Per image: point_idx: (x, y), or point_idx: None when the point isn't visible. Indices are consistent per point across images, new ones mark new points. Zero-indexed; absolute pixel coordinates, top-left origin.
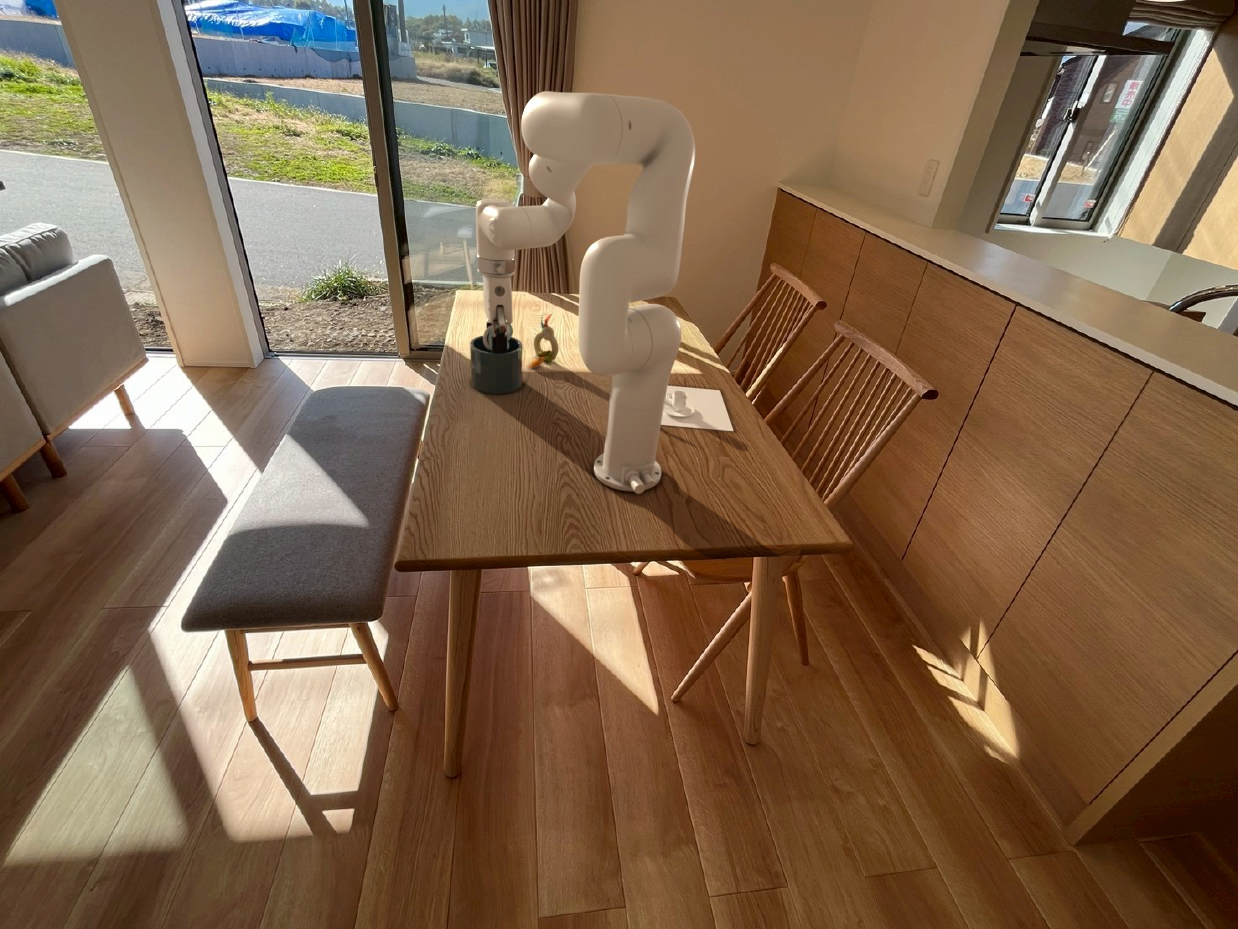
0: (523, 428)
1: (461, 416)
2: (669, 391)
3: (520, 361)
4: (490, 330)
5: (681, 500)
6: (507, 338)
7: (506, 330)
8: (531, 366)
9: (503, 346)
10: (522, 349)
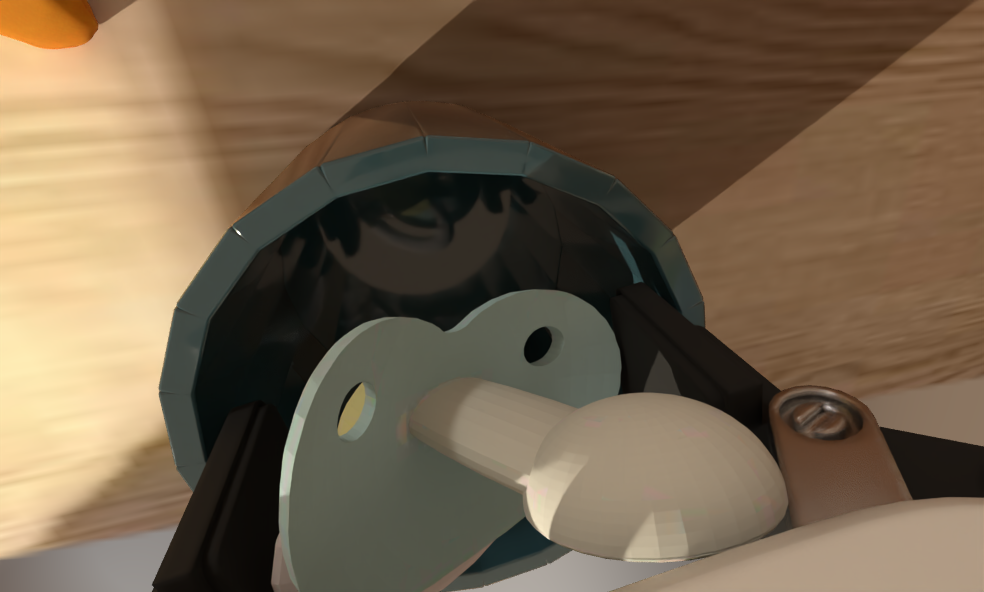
0: (931, 54)
1: (771, 345)
2: None
3: (511, 129)
4: (433, 581)
5: None
6: (433, 350)
7: (893, 460)
8: (92, 32)
9: (728, 350)
10: (423, 127)
